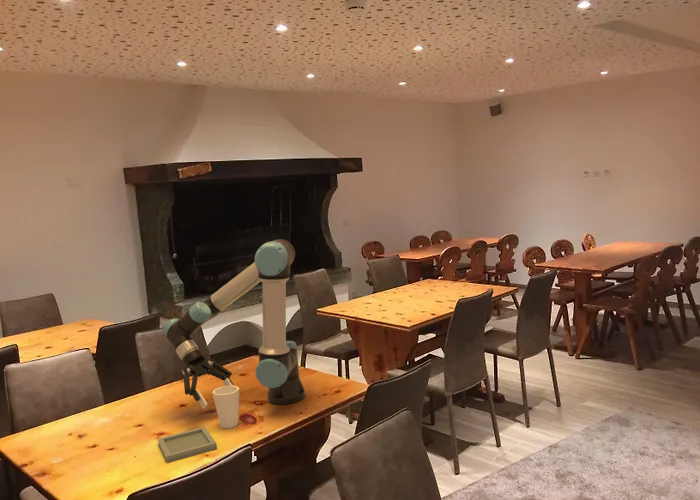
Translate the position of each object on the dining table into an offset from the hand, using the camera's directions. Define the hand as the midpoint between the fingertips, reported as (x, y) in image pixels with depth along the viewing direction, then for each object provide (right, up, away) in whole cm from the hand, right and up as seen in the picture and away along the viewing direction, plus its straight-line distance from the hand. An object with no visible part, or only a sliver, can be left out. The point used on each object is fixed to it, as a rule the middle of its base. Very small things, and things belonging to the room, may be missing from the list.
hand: (220, 400), depth 207 cm
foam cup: (+3, -9, 0) cm, 10 cm away
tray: (-8, -11, -16) cm, 21 cm away
